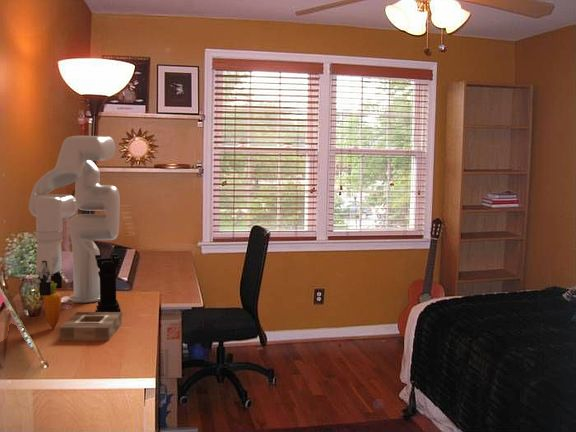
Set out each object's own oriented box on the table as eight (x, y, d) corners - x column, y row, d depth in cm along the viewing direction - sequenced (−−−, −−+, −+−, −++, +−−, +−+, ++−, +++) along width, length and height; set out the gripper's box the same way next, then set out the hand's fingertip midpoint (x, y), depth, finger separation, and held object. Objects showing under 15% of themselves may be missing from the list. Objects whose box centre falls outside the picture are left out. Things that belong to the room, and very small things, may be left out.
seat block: (77, 324, 195) (77, 311, 195) (121, 324, 196) (121, 311, 195) (60, 340, 179) (60, 326, 179) (108, 340, 180) (108, 326, 179)
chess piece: (121, 316, 204) (120, 257, 202) (97, 318, 201) (95, 259, 199) (119, 310, 212) (118, 253, 209) (95, 312, 209) (93, 254, 206)
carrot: (56, 331, 187) (54, 283, 186) (41, 330, 188) (39, 282, 187) (65, 326, 192) (63, 280, 190) (50, 325, 193) (49, 279, 191)
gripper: (47, 233, 195) (49, 285, 196) (26, 240, 177) (27, 298, 179) (71, 233, 195) (72, 285, 197) (52, 240, 178) (53, 298, 179)
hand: (51, 291), depth 188 cm, fingers open, 9 cm apart
